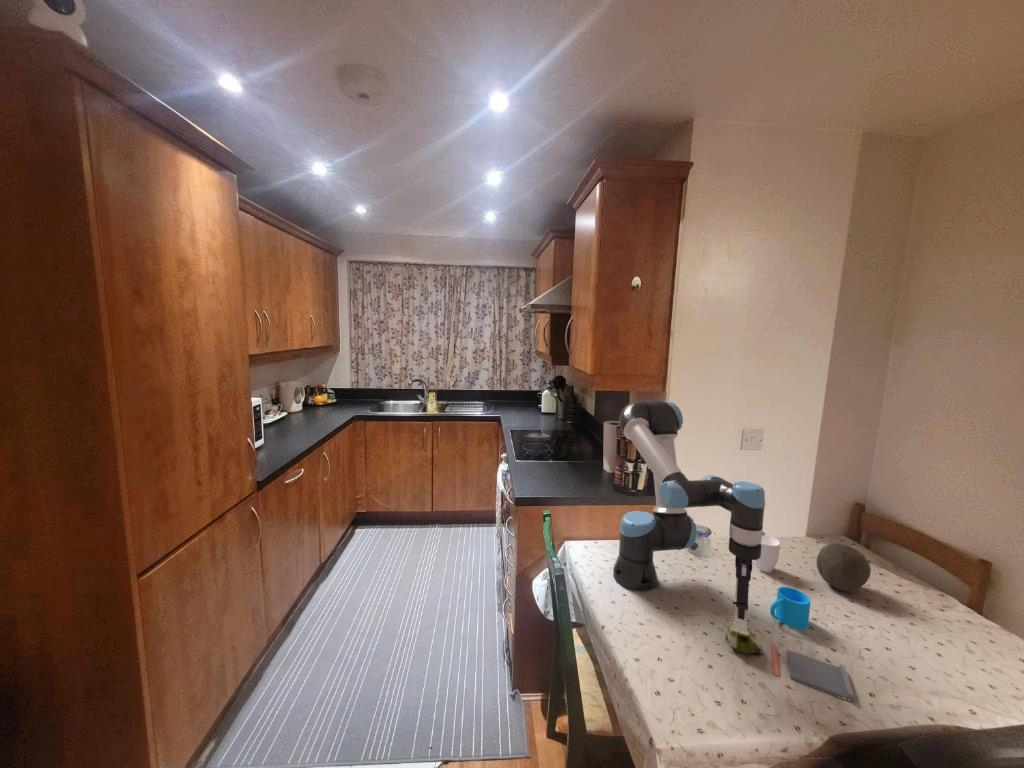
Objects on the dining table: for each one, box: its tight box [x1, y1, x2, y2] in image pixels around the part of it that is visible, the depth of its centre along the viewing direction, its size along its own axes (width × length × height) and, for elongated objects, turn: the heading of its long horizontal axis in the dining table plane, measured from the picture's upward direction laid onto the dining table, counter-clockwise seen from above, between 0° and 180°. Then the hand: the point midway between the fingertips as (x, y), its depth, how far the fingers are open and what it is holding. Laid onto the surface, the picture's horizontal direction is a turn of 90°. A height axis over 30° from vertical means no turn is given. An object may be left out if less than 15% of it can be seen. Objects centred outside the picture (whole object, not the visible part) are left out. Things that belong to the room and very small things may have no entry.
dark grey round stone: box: [815, 543, 872, 592], centre depth 132 cm, size 14×14×15 cm
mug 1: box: [752, 534, 781, 573], centre depth 144 cm, size 12×9×12 cm
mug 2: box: [769, 586, 812, 630], centre depth 116 cm, size 12×8×8 cm
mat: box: [786, 649, 855, 703], centre depth 96 cm, size 12×10×2 cm
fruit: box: [724, 621, 765, 655], centre depth 105 cm, size 9×9×8 cm
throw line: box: [770, 642, 781, 678], centre depth 101 cm, size 1×12×1 cm, turn 149°
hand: (740, 613), depth 104 cm, fingers open, 13 cm apart
